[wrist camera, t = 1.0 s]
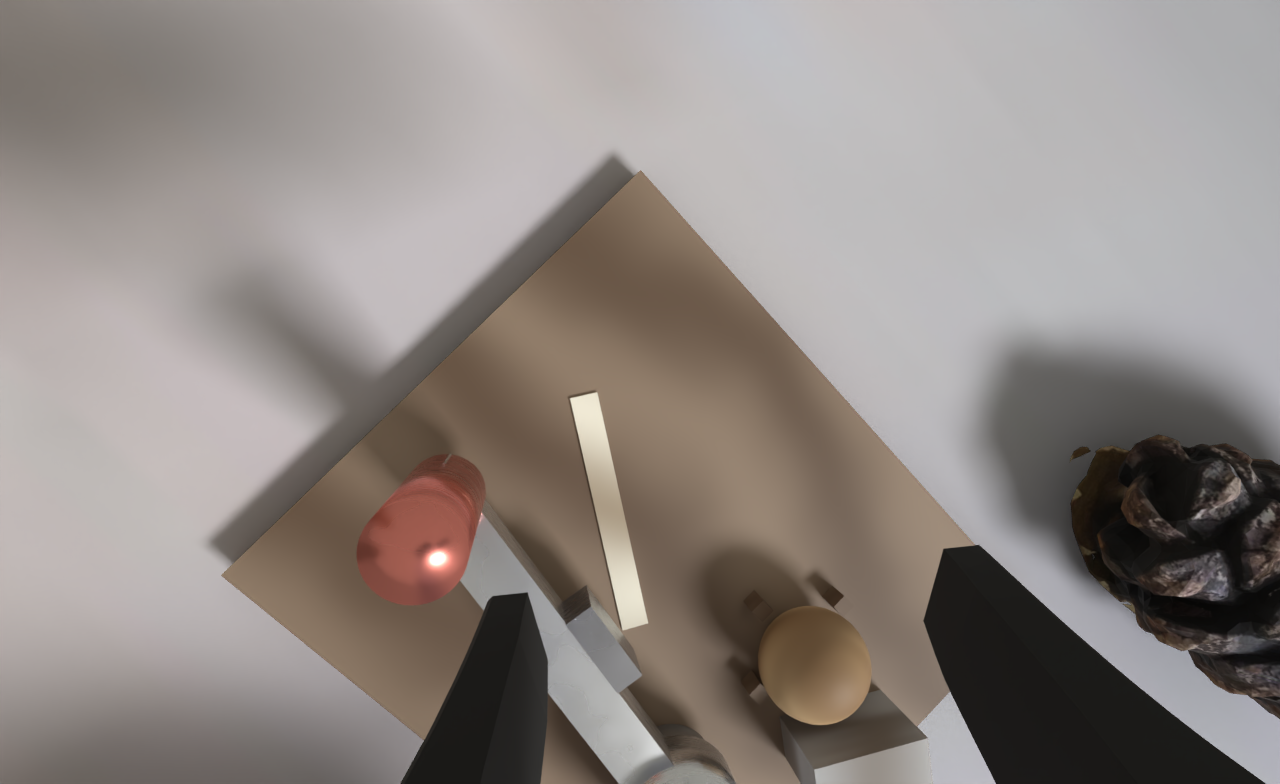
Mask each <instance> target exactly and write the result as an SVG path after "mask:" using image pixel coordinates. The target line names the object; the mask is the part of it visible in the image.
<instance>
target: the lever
mask: <svg viewBox="0 0 1280 784" xmlns="http://www.w3.org/2000/svg"><path fill="white" fill-rule="evenodd" d="M485 498H486V486H485V482H484V479H483V476H482V474H481V473H480V471H479V470H478V469H477V467H476V466H475V465H474V464H473V463H471V462H470V461H468V460H467V459H465V458H463V457H460V456H457V455H452V454H451V453H450V454H441V455H435V456H432V457H430V458H427V459H426V460H424V461H422V462H421V463H420V464H418V465H417V466H416V467H415V468H414V470H413V471H412V472H411V473H410V474H409V475H408V476H407V478H406V479H405V480H404V481H403V482H402V483H401V485H400V486H399V487H398V488H397V489H396V490H395V492H394V493H393V494H392V495H391V496H390V497H389V499H388V500H387V501H386V502H385V503H384V504H383V505H382V507H381V508H380V509H379V510H378V511H377V512H376V514H375V515H374V516H373V517H372V518H371V519H370V521H369V522H368V523H367V525H366V526H365V527H364V529H363V531H362V533H361V535H360V538H359V541H358V545H357V553H356V554H357V564H358V568H359V571H360V574H361V576H362V578H363V580H364V581H365V583H366V584H367V585H368V586H369V588H370V589H371V590H372V591H373V592H375V593H376V594H377V595H379V596H380V597H382V598H383V599H385V600H388V601H390V602H393V603H396V604H401V605H422V604H427V603H430V602H433V601H435V600H437V599H439V598H441V597H443V596H444V595H446V594H447V593H448V592H450V591H451V590H452V589H453V588H454V587H455V586H456V585H457V584H458V582H459V581H461V582H462V584H463V585H464V586H465V588H466V589H467V590H468V591H469V593H470V594H471V595H472V597H473V598H474V599H475V600H476V602H477V603H478V604H479V605H480V607H481V608H482V609H483V611H484V609H485V607H486V604H487V601H488V600H489V599H490V598H491V597H492V596H498V595H507V594H517V593H526V592H528V595H529V599H530V602H531V605H532V609H533V612H534V615H535V619H536V622H537V625H538V629H539V632H540V635H541V639H542V642H543V645H544V649H545V652H546V655H547V659H548V694H549V695H550V696H551V698H552V699H553V700H554V701H555V703H556V704H557V705H558V706H559V708H560V709H561V710H562V712H563V713H564V714H565V715H566V717H567V718H568V719H569V721H570V722H571V723H572V724H573V726H574V727H575V728H576V729H577V731H578V732H579V733H580V735H581V736H582V737H583V738H584V740H585V741H586V742H587V744H588V745H589V746H590V747H591V749H592V750H593V751H594V753H595V754H596V755H597V756H598V758H599V759H600V760H601V761H602V763H603V764H604V765H605V767H606V768H607V769H608V770H609V772H610V773H611V774H612V776H613V777H614V778H615V779H616V781H617V782H618V783H617V784H736V782H735V780H734V778H733V775H732V773H731V771H730V769H729V767H728V764H727V762H726V760H725V758H724V757H723V755H722V754H721V753H720V752H719V750H718V749H717V748H715V747H714V746H713V745H712V744H710V743H709V742H707V741H705V740H703V739H701V738H698V737H695V736H689V735H672V736H667V737H664V736H663V735H662V733H661V732H660V731H659V729H658V728H657V727H656V725H655V724H654V723H653V721H652V720H651V719H650V717H649V716H648V715H647V713H646V712H645V711H644V709H643V708H642V707H641V705H640V704H639V703H638V701H637V700H636V699H635V697H634V696H633V695H632V693H631V692H630V691H629V689H628V688H627V687H628V686H629V685H630V684H632V683H633V682H634V681H636V680H637V679H638V678H640V677H641V676H642V673H641V670H640V666H639V663H638V660H637V657H636V654H635V651H634V649H633V647H632V646H631V645H630V643H629V642H628V640H627V639H626V638H625V636H624V635H623V634H622V632H621V631H620V630H619V628H618V627H617V626H616V624H615V623H614V622H613V620H612V619H611V617H610V616H609V615H608V613H607V612H606V611H605V609H604V608H603V607H602V605H601V604H600V603H599V601H598V600H597V599H596V597H595V596H594V594H593V593H592V592H591V590H590V589H589V588H588V586H587V585H586V586H584V587H583V588H582V589H580V590H579V591H577V592H576V593H575V594H573V595H572V596H570V597H569V598H568V599H566V600H565V601H564V602H562V600H561V599H560V598H559V596H558V595H557V594H556V592H555V591H554V590H553V588H552V587H551V586H550V584H549V583H548V582H547V580H546V579H545V578H544V576H543V575H542V574H541V572H540V571H539V570H538V568H537V567H536V566H535V564H534V563H533V562H532V560H531V559H530V558H529V556H528V555H527V554H526V552H525V551H524V550H523V548H522V547H521V546H520V544H519V543H518V542H517V540H516V539H515V538H514V536H513V535H512V534H511V532H510V531H509V530H508V528H507V527H506V526H505V524H504V523H503V522H502V521H501V519H500V518H499V517H498V515H497V514H496V513H495V511H494V510H493V509H492V507H491V506H490V505H489V503H488V502H487V501H486V499H485Z"/></svg>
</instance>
